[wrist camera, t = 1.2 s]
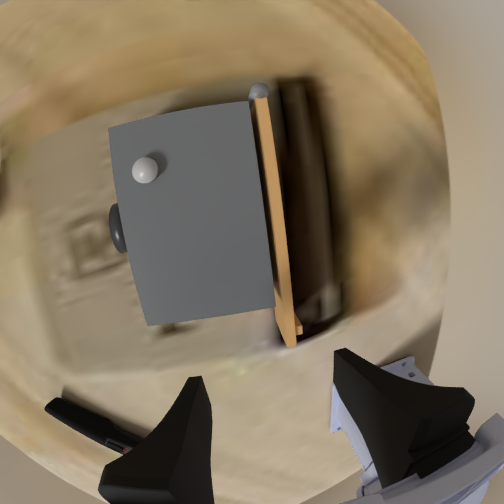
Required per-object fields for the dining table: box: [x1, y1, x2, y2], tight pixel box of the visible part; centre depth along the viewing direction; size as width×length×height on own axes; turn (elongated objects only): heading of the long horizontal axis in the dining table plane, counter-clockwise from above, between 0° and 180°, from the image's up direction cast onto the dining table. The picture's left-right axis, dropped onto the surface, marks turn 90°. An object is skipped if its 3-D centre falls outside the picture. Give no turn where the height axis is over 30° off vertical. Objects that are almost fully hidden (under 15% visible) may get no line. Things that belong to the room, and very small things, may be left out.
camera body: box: [108, 101, 276, 326], centre depth 17 cm, size 9×12×4 cm
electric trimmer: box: [45, 397, 144, 455], centre depth 22 cm, size 4×16×3 cm, turn 58°
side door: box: [247, 83, 303, 348], centre depth 17 cm, size 1×16×4 cm, turn 8°
